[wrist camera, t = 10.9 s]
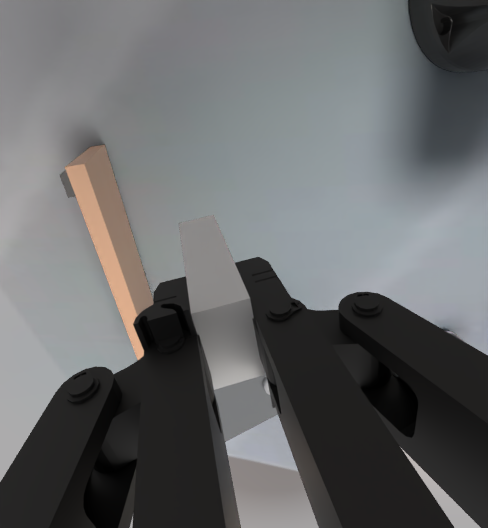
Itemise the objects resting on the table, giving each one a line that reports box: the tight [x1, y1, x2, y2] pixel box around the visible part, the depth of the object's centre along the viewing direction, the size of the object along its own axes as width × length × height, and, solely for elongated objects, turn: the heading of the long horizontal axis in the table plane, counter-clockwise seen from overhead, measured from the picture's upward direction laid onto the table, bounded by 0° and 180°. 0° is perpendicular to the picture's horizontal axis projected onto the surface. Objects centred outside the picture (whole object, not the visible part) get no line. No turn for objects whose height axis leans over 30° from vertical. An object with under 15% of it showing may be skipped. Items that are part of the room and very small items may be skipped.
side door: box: [60, 145, 154, 360], centre depth 30 cm, size 22×2×10 cm, turn 8°
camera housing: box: [214, 368, 278, 442], centre depth 38 cm, size 16×10×11 cm, turn 115°
